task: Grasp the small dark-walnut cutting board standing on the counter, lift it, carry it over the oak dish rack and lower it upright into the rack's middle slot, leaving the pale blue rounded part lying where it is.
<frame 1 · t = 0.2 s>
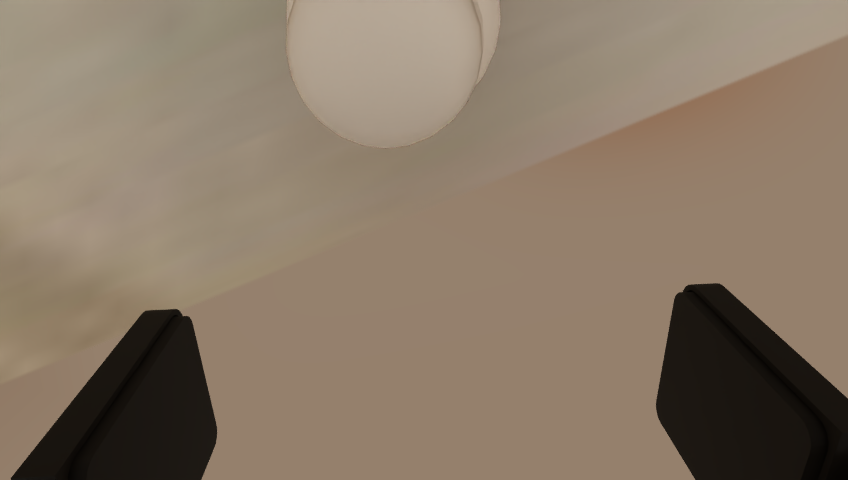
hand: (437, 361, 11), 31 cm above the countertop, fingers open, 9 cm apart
bottle: (396, 6, 37), on the countertop
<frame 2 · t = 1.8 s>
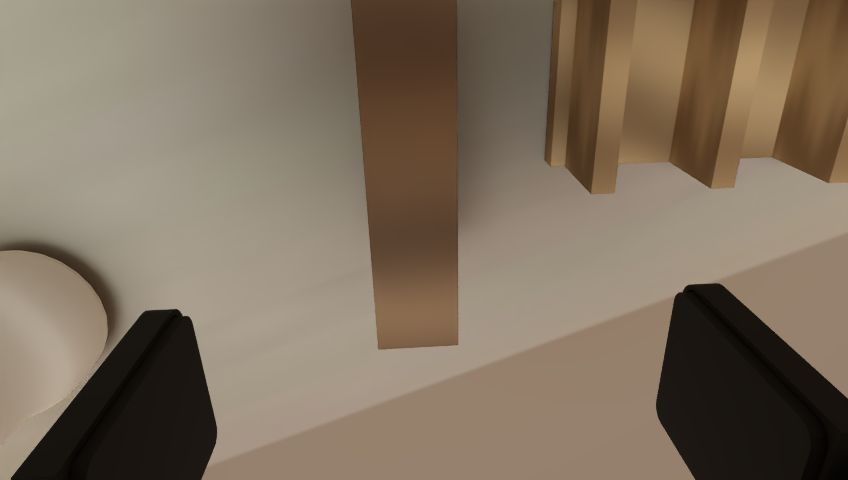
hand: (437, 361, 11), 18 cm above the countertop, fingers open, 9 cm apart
board: (405, 126, 27), on the countertop
bottle: (45, 307, 30), on the countertop
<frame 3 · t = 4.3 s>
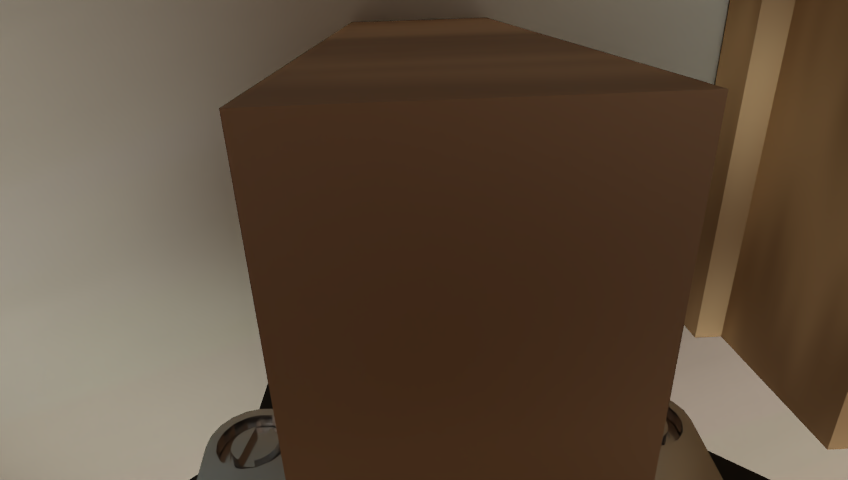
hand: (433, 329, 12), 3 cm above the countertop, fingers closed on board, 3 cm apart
board: (426, 261, 15), on the countertop, touching gripper
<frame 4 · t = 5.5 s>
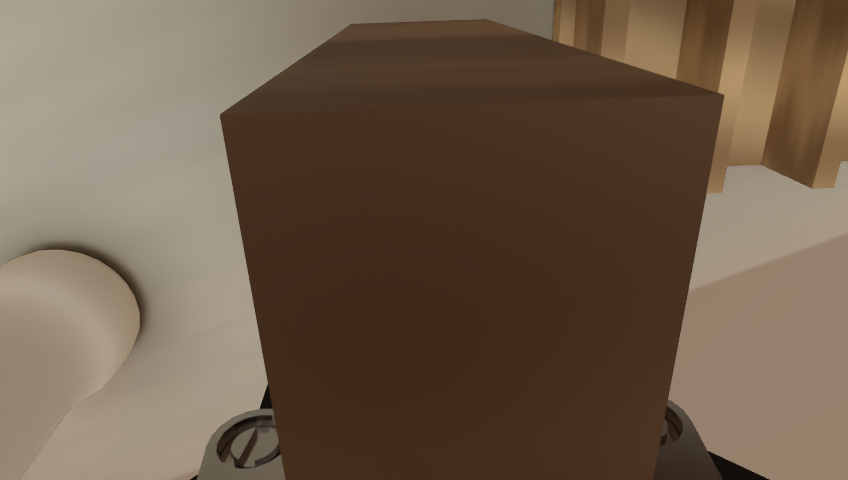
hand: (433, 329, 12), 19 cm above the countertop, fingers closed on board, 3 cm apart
board: (426, 262, 15), point 16 cm above the countertop, touching gripper
rack: (738, 0, 27), on the countertop
bottle: (78, 302, 32), on the countertop
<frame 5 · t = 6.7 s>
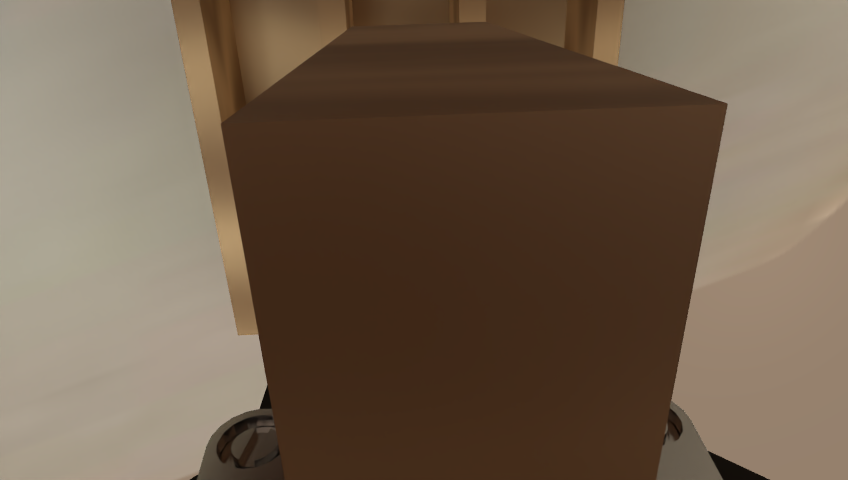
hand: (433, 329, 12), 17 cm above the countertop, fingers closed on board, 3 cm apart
board: (426, 264, 15), point 14 cm above the countertop, touching gripper
rack: (406, 131, 28), on the countertop
when the fingers open (6 cm above the countertop, at t = 8.8 s): board drops 1 cm, resting on rack.
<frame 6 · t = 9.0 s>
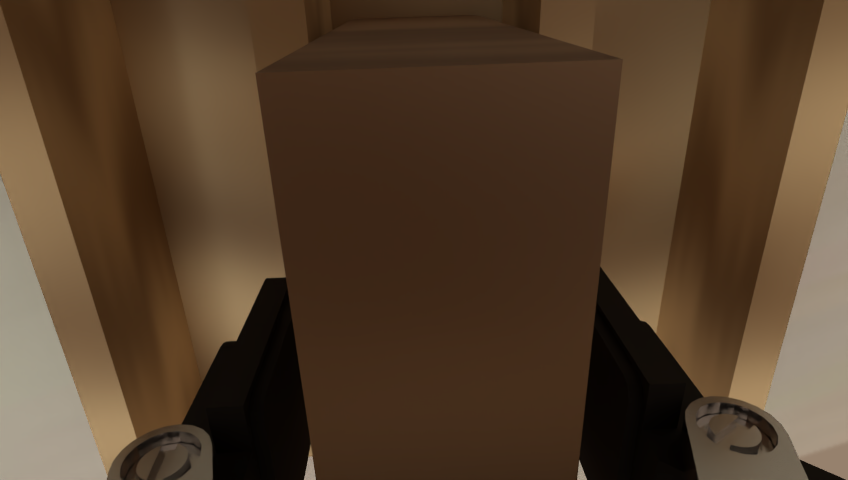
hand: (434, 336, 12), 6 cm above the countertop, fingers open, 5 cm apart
board: (422, 239, 16), point 1 cm above the countertop, touching rack
rack: (422, 224, 17), on the countertop
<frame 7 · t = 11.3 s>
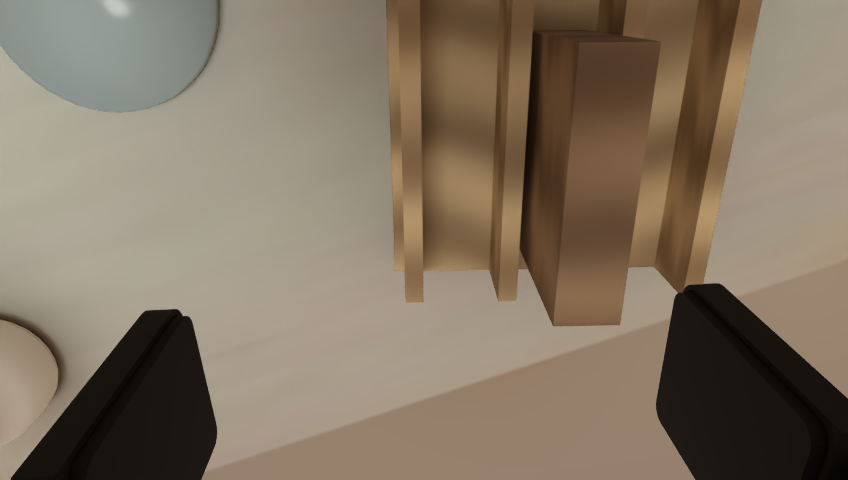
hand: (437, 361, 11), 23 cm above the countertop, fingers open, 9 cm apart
board: (547, 142, 32), point 1 cm above the countertop, touching rack
rack: (543, 138, 33), on the countertop
bottle: (7, 360, 38), on the countertop
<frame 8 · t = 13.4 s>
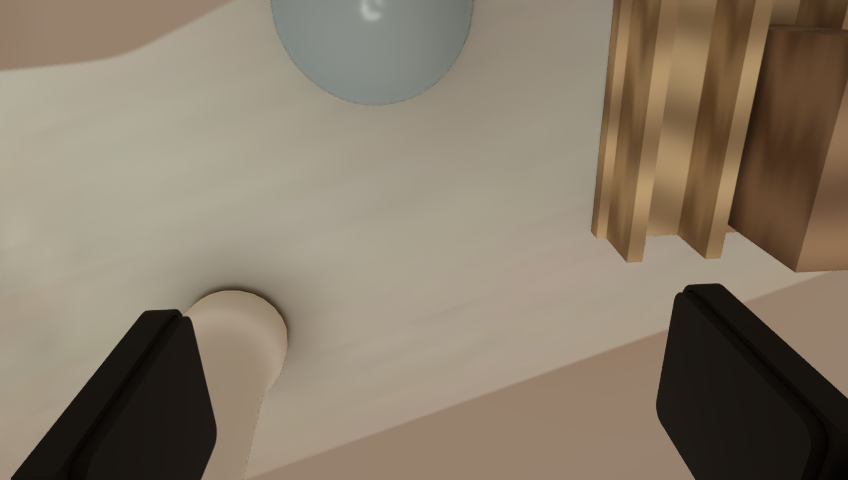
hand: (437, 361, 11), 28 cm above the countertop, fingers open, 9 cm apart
board: (741, 121, 37), point 1 cm above the countertop, touching rack
rack: (732, 118, 38), on the countertop
bottle: (239, 329, 43), on the countertop
pale blue rounded part: (373, 3, 35), on the countertop
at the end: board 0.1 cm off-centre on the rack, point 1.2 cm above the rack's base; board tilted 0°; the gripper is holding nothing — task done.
